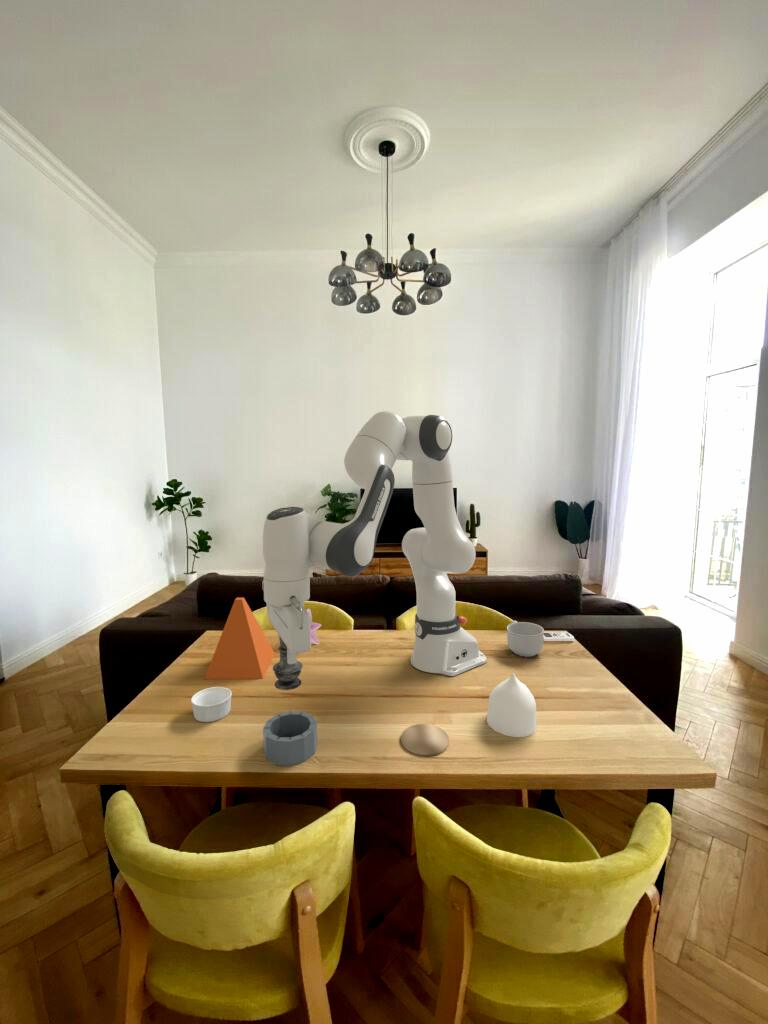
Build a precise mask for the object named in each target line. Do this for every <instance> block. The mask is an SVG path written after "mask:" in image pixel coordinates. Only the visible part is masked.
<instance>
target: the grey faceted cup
mask: <svg viewBox="0 0 768 1024" xmlns="http://www.w3.org/2000/svg"><path fill="white" fill-rule="evenodd" d="M262 739H263V741H262V742H263V753H264V756H265V760H266V761H268V762H270V763H271V764H274V765H275V766H289V767H291V766H294V765H298V764H301V763H303V762H307V760H308V759H309V758H311V757H312V756H314V755H315V753H316V750H317V746H318V722H317V720H316V718H315V717H314V715H313V714H310V713H308V712H305V711H300V710H298V711H297V710H289V711H284V712H281V713H276V715H274V716H273V717H271V718H269V719H267V721H266V722H265V724H264V726H263V728H262Z"/></svg>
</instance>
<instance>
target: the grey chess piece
mask: <svg viewBox="0 0 768 1024" xmlns="http://www.w3.org/2000/svg"><path fill="white" fill-rule="evenodd" d="M277 649H278V651H279V661H278V662H276V663H275V664H274V665H273V667H272V671H273V672H274V675H275V678H276V679H277V680H276V681H275V682H274V687H275V688H276V689H277V690H280V691H290V690H295V689H297V688H299V687H300V686H301V685H302V679H301V678H299V676H301V675H300V674H301V673H302V668H303V667H304V666H303V663H302V662H301V661H298V660H297V662H296V663H294V664H288V663H287V661H286V653H287V647H286V645H285V643H284V642H283V640H282V639H281V637H280V642H279V647H278V648H277Z"/></svg>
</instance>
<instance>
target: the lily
mask: <svg viewBox="0 0 768 1024" xmlns="http://www.w3.org/2000/svg"><path fill="white" fill-rule="evenodd" d="M306 610H307V612H308V614H309V620H310V632H311V644H315V645H320V640H319V636H318V635H317V633H316V631H317V630H318V629H320V628H321V627H322V624H321V623H318V622H313V616H312V611H311V609H310V608H307V609H306Z"/></svg>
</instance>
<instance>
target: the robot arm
mask: <svg viewBox="0 0 768 1024" xmlns="http://www.w3.org/2000/svg"><path fill="white" fill-rule="evenodd" d="M451 427H452V426H451V424H450V423H449V421H447V419H446V418H445V417H444V416H441V415H437V414H428V415H410V416H407V417H402V418H401V417H400V416H399V415H397V414H396V413H394V412H392V411H387V410H383V411H378V412H377V413H375V414H373V415H372V416H371V417H370V418H369V420H368V421H366V422H365V424H364V425H363V426H362V427H361V428H360V430H359V431H358V433H357V434H356V436H355V437H354V439H353V440H352V442H351V443H350V445H349V446H348V448H347V450H346V453H345V455H344V457H343V458H344V459H343V462H344V463H343V464H344V468H345V471H346V473H347V476H349V478H350V479H351V480H352V481H353V482H354V483H355V484H356V485H357V486H358V487H360V488H362V489H364V493H363V495H362V498H361V500H360V503H359V505H358V507H357V509H356V512H355V514H354V516H353V518H352V519H351V520H350V521H348V522H345V523H339V522H333V521H325V520H322V519H319V518H316V517H315V516H312V515H310V514H309V513H307V512H306V510H305V509H304V508H303V507H300V506H287V507H280V508H277V509H274V510H272V511H270V512H269V513H267V515H266V518H265V520H264V524H263V530H262V556H263V560H264V563H265V567H264V572H263V580H262V584H261V585H262V587H261V589H262V591H263V601H264V602H265V603H266V613H267V618H268V621H269V623H270V624H271V626H272V627H273V629H274V631H276V632H275V633H277V637H278V642H279V643H280V637H281V639H282V640H283V642H284V643H285V645H286V647H287V653H286V661H287V663H288V664H294V663H296V662H297V661H298V656H297V654H305V653H308V652H310V651H311V649H312V642H311V632H310V620H309V614H308V612H307V609H306V608H305V607H304V603H305V602H307V601H308V600H310V597H311V593H310V592H311V587H310V586H311V584H310V581H311V580H310V578H311V576H310V568H311V567H317V568H320V569H323V570H330V571H333V572H335V573H337V574H340V575H342V576H346V577H355V576H358V575H360V574H361V573H363V572H364V571H365V570H366V569H367V568H368V567H369V566H370V564H371V563H372V561H373V558H374V556H375V551H376V546H377V539H378V535H379V532H380V530H381V527H382V524H383V521H384V518H385V516H386V513H387V509H388V507H389V504H390V501H391V498H392V495H393V492H394V488H395V475H394V472H393V470H392V469H393V466H394V465H395V464H396V461H397V460H399V461H411V463H412V465H411V466H412V467H411V478H412V479H411V480H412V494H413V495H412V497H413V507H414V511H415V512H414V513H416V515H417V516H418V518H419V519H420V520H421V523H422V524H423V527H416V528H412V529H410V530H408V531H407V532H406V533H405V534H404V536H403V537H402V538H403V539H402V541H401V549H402V552H403V555H404V556H405V558H406V559H407V560H408V562H409V565H410V568H411V571H412V575H413V578H414V579H413V580H414V583H415V591H416V614H415V616H414V631H415V633H414V634H415V641H414V645H413V650H412V655H411V658H410V664H411V665H412V666H413V667H414V668H416V669H417V670H419V671H421V672H425V673H430V674H440V675H445V676H448V677H449V676H450V677H454V676H457V675H459V674H462V673H464V672H467V671H469V670H472V669H475V668H476V667H479V666H481V665H484V664H486V663H487V662H488V661H487V660H488V659H487V656H486V655H485V654H484V653H483V652H482V651H480V649H479V643H478V640H477V639H476V638H475V637H474V636H473V635H472V634H471V633H469V632H468V631H466V630H465V629H464V628H463V627H461V625H463V626H465V625H466V624H467V623H468V618H467V617H464V616H463V615H461V616H459V615H458V614H456V594H457V593H456V590H455V587H454V584H453V583H452V582H451V581H450V579H449V577H448V574H453V575H454V574H455V575H458V574H464V573H467V572H468V571H470V570H471V568H472V567H473V565H474V563H475V560H476V556H477V553H476V548H475V545H474V544H473V542H472V541H471V540H470V539H469V538H468V536H467V534H466V533H465V531H464V530H463V528H462V525H461V523H460V520H459V518H458V513H457V511H456V507H455V496H454V482H453V472H452V471H453V470H452V466H451V459H450V456H449V451H450V449H451V447H452V446H451V445H452V442H453V430H452V428H451ZM460 624H461V625H460Z"/></svg>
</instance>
